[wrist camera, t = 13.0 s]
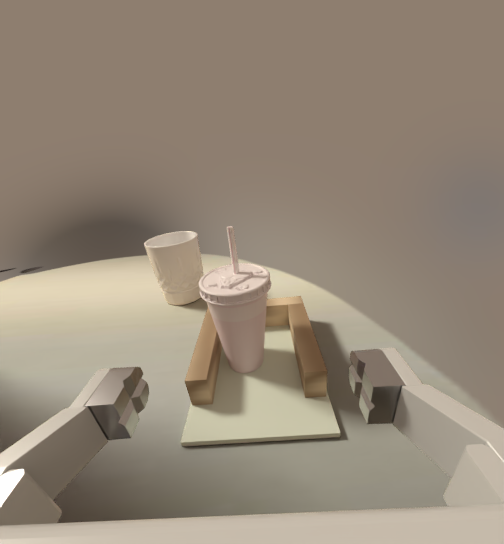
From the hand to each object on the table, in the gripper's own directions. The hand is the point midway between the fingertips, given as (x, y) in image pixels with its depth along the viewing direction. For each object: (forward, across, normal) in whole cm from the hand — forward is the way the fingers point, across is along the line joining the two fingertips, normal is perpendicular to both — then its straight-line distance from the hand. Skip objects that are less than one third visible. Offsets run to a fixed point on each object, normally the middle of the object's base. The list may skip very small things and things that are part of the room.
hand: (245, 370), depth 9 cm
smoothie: (+12, -2, -12) cm, 17 cm away
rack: (+12, 0, -11) cm, 17 cm away
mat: (+12, 0, -12) cm, 17 cm away
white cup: (+28, -12, -12) cm, 33 cm away
